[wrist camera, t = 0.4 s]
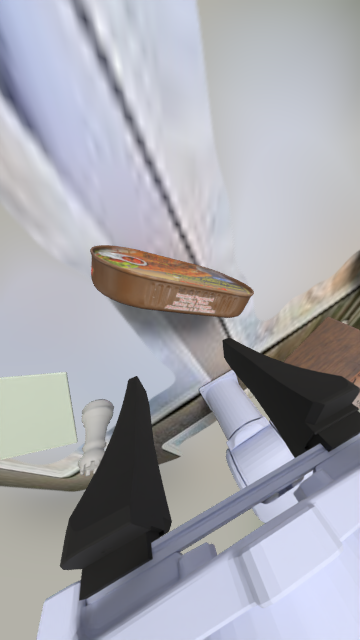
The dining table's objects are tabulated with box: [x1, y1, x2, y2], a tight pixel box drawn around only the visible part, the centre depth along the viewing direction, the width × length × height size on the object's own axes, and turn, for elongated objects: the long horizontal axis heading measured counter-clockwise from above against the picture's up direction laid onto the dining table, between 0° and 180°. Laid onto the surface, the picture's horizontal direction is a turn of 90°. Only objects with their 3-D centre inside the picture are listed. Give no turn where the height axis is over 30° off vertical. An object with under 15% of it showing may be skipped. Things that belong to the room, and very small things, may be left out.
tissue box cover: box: [284, 317, 360, 409], centre depth 39 cm, size 26×14×10 cm, turn 54°
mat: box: [0, 372, 77, 460], centre depth 22 cm, size 12×16×1 cm
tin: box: [90, 245, 254, 318], centre depth 15 cm, size 15×3×8 cm, turn 74°
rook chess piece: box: [78, 399, 114, 476], centre depth 22 cm, size 4×4×8 cm
